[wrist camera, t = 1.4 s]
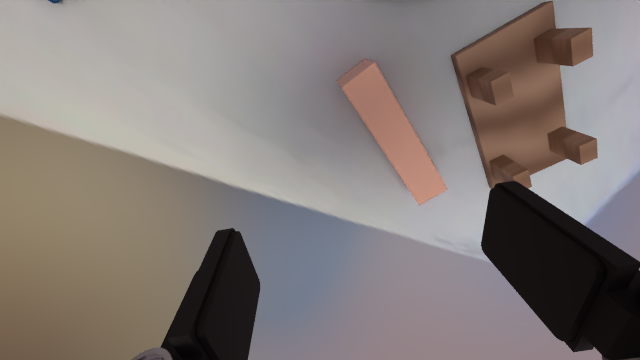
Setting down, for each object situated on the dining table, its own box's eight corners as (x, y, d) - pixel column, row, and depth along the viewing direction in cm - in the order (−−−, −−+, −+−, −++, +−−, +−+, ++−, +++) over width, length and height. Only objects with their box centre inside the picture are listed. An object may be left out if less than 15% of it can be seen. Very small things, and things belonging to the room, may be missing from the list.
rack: (451, 55, 26) (479, 59, 22) (543, 2, 24) (595, -6, 20) (489, 187, 34) (516, 209, 30) (562, 154, 32) (602, 172, 28)
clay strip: (336, 80, 27) (341, 87, 23) (364, 58, 26) (375, 62, 22) (406, 185, 34) (419, 205, 30) (430, 170, 33) (447, 189, 29)
